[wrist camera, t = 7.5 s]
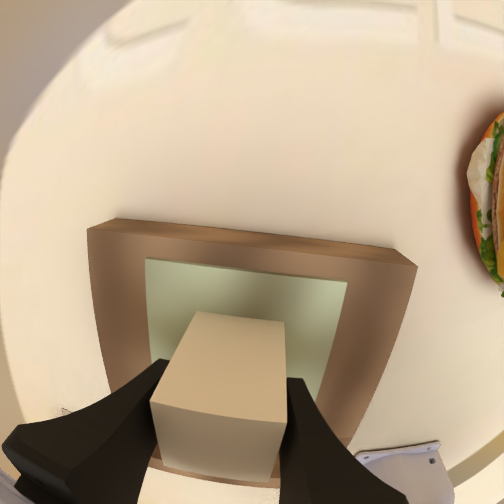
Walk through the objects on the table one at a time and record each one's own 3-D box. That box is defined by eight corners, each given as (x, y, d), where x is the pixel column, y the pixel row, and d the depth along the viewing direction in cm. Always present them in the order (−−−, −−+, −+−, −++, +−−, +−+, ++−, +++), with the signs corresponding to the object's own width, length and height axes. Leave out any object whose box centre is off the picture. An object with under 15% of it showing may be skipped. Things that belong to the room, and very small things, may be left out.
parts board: (395, 249, 15) (420, 268, 12) (319, 463, 20) (321, 491, 17) (115, 218, 16) (83, 230, 12) (144, 439, 21) (132, 464, 18)
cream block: (284, 321, 13) (286, 422, 7) (272, 386, 14) (268, 482, 8) (196, 310, 13) (149, 400, 7) (196, 375, 14) (163, 465, 8)
